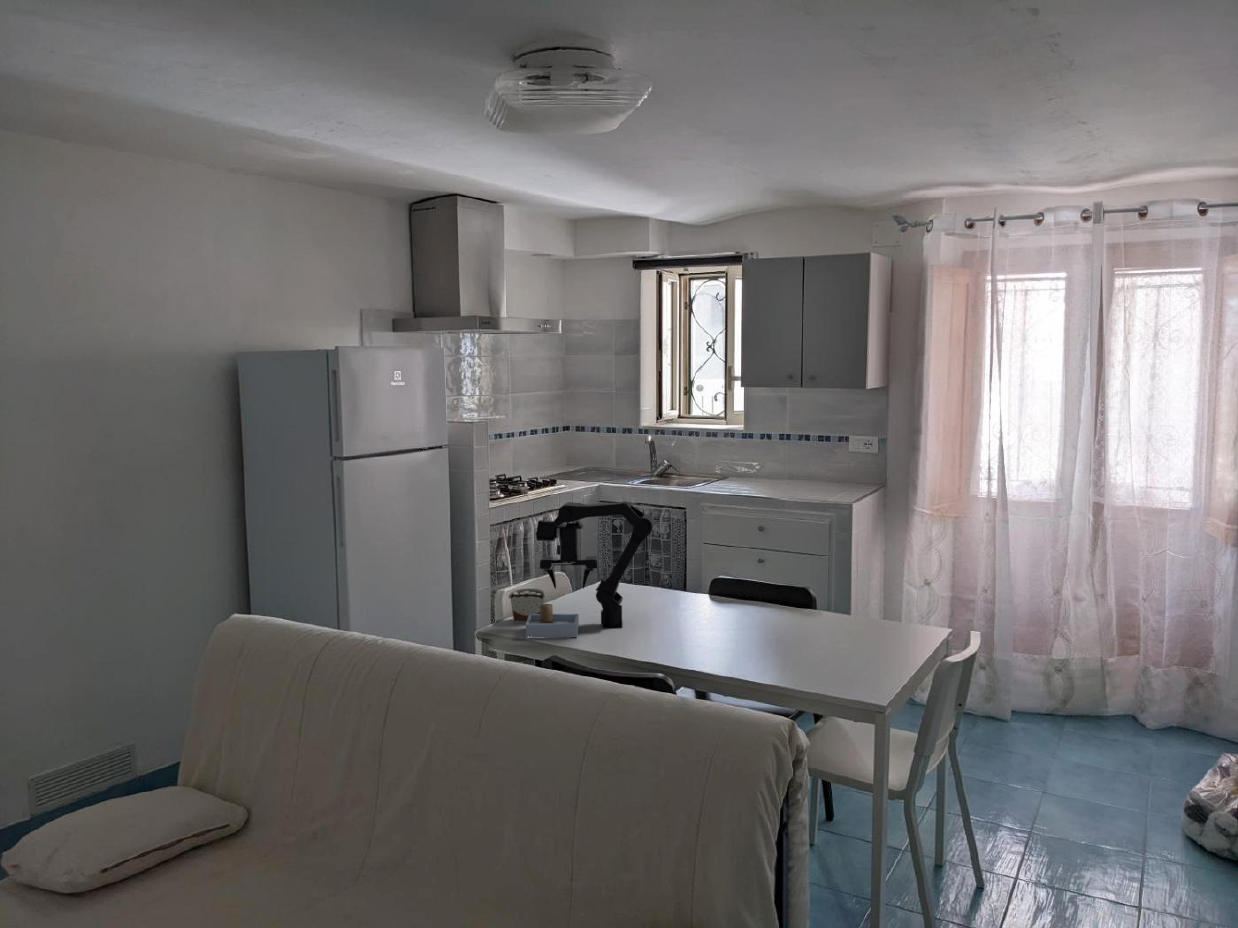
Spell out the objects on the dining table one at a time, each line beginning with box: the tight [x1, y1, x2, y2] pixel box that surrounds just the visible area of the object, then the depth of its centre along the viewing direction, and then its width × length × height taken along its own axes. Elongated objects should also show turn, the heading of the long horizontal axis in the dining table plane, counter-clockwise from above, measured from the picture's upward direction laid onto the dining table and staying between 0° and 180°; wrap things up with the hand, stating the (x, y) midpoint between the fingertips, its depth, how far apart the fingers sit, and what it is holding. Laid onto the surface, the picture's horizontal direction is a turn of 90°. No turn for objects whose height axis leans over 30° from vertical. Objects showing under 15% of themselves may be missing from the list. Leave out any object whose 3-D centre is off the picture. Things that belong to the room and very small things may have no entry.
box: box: [525, 613, 580, 638], centre depth 304 cm, size 16×11×4 cm
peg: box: [540, 603, 554, 624], centre depth 304 cm, size 4×4×9 cm
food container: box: [508, 588, 546, 623], centre depth 318 cm, size 12×6×10 cm, turn 84°
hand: (569, 588), depth 312 cm, fingers open, 9 cm apart
